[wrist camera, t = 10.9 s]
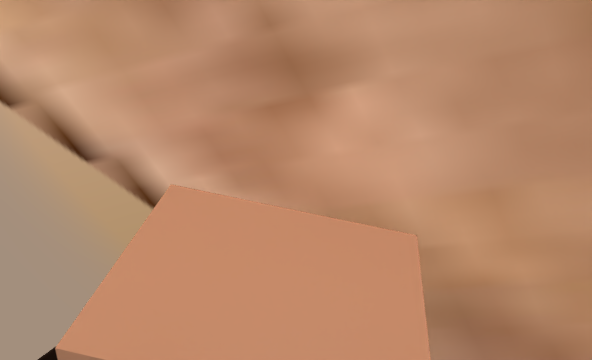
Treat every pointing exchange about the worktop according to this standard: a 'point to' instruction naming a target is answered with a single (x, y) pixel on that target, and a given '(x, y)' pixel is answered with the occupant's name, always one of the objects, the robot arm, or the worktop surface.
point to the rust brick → (254, 288)
